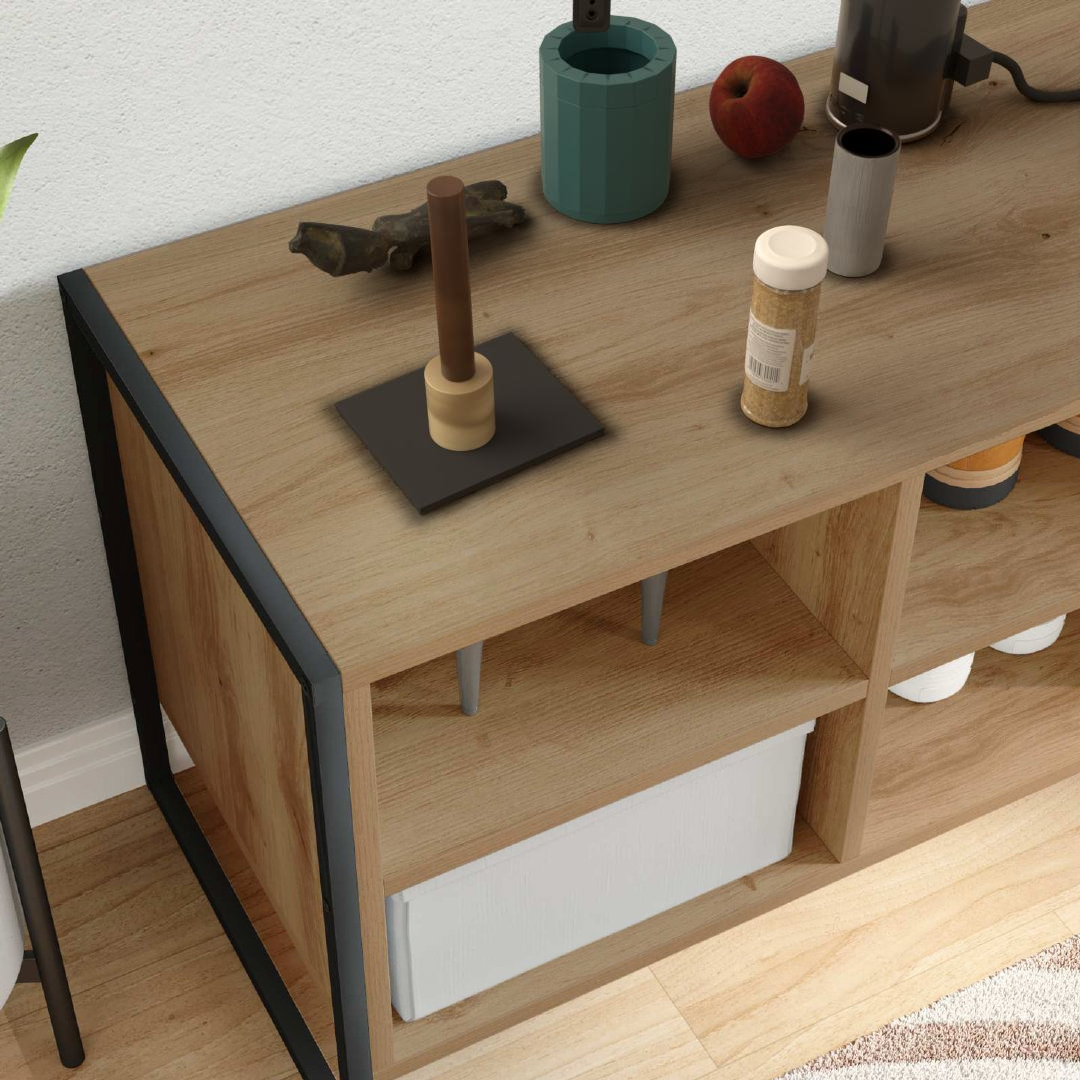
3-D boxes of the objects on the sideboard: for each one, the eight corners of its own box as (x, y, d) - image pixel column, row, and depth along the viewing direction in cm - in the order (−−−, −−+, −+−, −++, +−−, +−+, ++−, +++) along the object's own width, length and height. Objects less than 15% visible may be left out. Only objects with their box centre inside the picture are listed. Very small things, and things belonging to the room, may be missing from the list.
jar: (622, 138, 130) (626, 2, 121) (694, 197, 124) (702, 58, 115) (519, 176, 126) (514, 38, 117) (587, 238, 120) (588, 98, 111)
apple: (689, 136, 130) (694, 47, 124) (772, 115, 132) (781, 26, 126) (730, 183, 125) (738, 92, 119) (816, 160, 127) (828, 70, 121)
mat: (511, 337, 112) (511, 331, 112) (604, 434, 105) (604, 427, 105) (335, 409, 107) (334, 402, 107) (420, 515, 100) (419, 508, 100)
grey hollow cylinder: (842, 284, 116) (861, 164, 108) (807, 252, 118) (823, 132, 111) (893, 266, 117) (914, 146, 110) (857, 235, 120) (876, 115, 112)
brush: (474, 398, 107) (459, 156, 93) (507, 435, 104) (497, 192, 90) (417, 422, 105) (393, 179, 91) (450, 460, 103) (430, 216, 89)
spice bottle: (820, 413, 106) (845, 249, 96) (767, 439, 104) (787, 275, 95) (777, 376, 109) (797, 213, 99) (725, 401, 107) (740, 238, 97)
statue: (490, 228, 126) (272, 283, 115) (492, 161, 123) (268, 212, 112) (540, 253, 122) (318, 313, 111) (542, 185, 119) (315, 239, 108)
